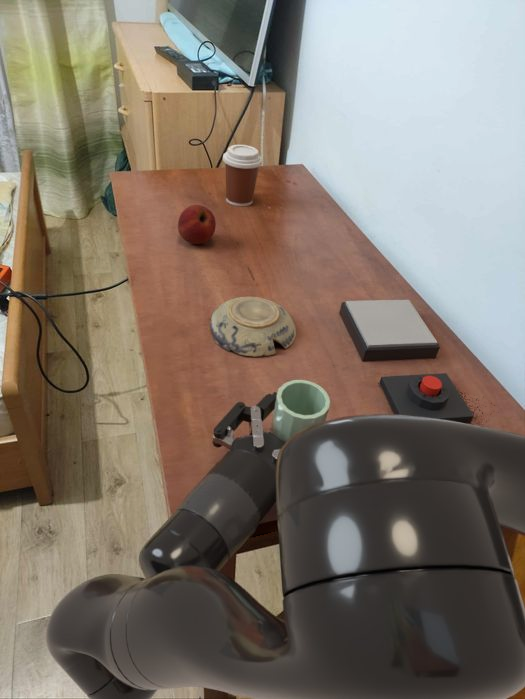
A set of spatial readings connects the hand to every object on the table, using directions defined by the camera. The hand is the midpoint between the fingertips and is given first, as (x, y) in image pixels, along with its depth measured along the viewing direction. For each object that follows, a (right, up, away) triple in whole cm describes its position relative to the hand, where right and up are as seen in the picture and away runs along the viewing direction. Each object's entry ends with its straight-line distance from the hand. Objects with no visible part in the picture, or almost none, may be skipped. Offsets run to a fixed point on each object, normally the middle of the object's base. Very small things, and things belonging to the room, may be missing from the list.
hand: (305, 413), depth 64 cm
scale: (+16, +11, +24) cm, 31 cm away
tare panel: (+19, 0, +12) cm, 22 cm away
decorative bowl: (-7, +12, +22) cm, 26 cm away
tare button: (+19, +2, +11) cm, 22 cm away
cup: (-2, -5, +3) cm, 6 cm away
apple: (-19, +30, +42) cm, 55 cm away
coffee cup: (-11, +44, +59) cm, 74 cm away
